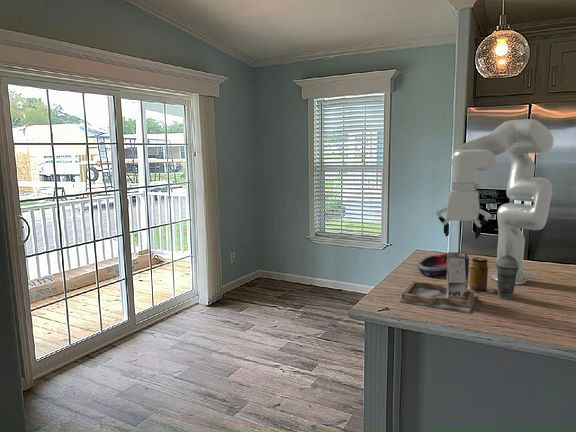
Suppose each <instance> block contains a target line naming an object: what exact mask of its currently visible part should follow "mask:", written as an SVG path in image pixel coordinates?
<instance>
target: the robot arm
mask: <svg viewBox="0 0 576 432" xmlns="http://www.w3.org/2000/svg"><path fill="white" fill-rule="evenodd" d="M553 146H554V136H553V134H552V132H551V130H549V129H548V128H547V127H546V126H545V124H543V123H542V122H541V121H538V120H537V119H534V118H530V119H529V118H528V119H526V118H525V119H524V118H523V119H510V120H506V121H504V122H502V123H501V124H500V125H499V126H497V127H495V128H494V130H493V131H491V132H490V133H489V134H485V135H482V136H480V137H477V138H475V139H472V140H469V141H467V142H465V143H462V144H461V145H460V146H459V147H458V148H456V150H455V151H454V152H453V153H452V155H451V158H450V164H451V166H452V171H451V172H452V178H451V190H450V191H449V194H448V197H447V205H446V207H444V208H442V209H440V210H437V211H436V212H435V214H436V216H437V218H438V220H439V221H440V222H441V223H442V225H443V234H444V235H445V237H448V236H449V235H450V224H449V222H450V221H459V222H460V221H461V222H473V223H474V224H475V226H476V227H475V233H474V235H475V236H474V238H475V240H476V239H478V238H479V237H481V233H482V232H481V231H482V227H483V226H484V225H485V224H486V223H487V222H488V221H489V219H490V217H491V214H490V213H489V212H487V211H485V210H483V209H481V208H480V195H479V191H476V190H478V189H481V187H482V186H481V184H479V183H477V172H487V171H488V172H489V171H490V170H492V169H493V168H494V166H495V165H496V156H499V155H502V154H504V153H505V152H506V153H507V155H508V158H509V160H510V170H509V174H508V175H509V176H508V179H507V180H508V181H507V185H506V192H505V193H506V197H507V198H508V199H509V200H513V201H518V202H520V201H521V202H530V203H531V202H532V203H533V204H524V203H517V202H516V203H515V202H507V203H503V204H501V205H500V206H499V207H498V209H497V211H496V217H497V226H498V227H497V228H498V236H497V237H498V238H497V252H496V254H497V255H496V262H497V261H498V259H499V258H500V257H502V256H504V255H505V243H507V255H510V256H513V257H514V258H515V259H516V260H517V262H518V267H519V268H518V271H517V274H516V280H515V286H516V285H517V286H518V285H524V284H526V283H527V280H528V279H529V280H536V274H532V273H530V272H528V273H527V272H525V271H524V256H525V255H524V253H525V243H526V239H525V236H524V233H523V232H522V230H521V229H523V230H530V231H539V230H543V229H544V227H545V226H546V223H547V220H548V216H549V211H550V206H551V201H552V196H553V185H552V184H553V183H552V182H551V181H550V179H548V178H545V177H534V175H535V170H536V165H535V162H534V160H533V159H532V157H531V156H530V155H529V154H544V153H548V152H549V151H550V150H551V149H552V148H553ZM444 213H446V215H445V216H446V219H445V217H444V216H443V215H442V214H444ZM480 214H481V215H482V216H483V217H484V218H483V219H482V220H481V221H480V219H479V218H480ZM496 267H497V266H496V265H495V268H496ZM495 270H496V271H495V273H493V274H492V275H491V280H493V281H495V282H497V283H498V279H497V268H496V269H495Z"/></svg>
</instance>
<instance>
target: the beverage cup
mask: <svg viewBox="0 0 576 432" xmlns="http://www.w3.org/2000/svg"><path fill="white" fill-rule="evenodd" d="M496 266H497V267H496ZM495 268H497V279H498V282H497V295H498V296H497V297H498V298H499V299H503V300H512V299H513V295H514V292H515V286H516V285H515V280H516V274H517V271H518V268H519V267H518V262H517V260H516V259H515V258H514V257H513V256H510V255H507V243H505V255H504V256H502V257H500V258H499V259H498V261H497V260H496V265H495Z"/></svg>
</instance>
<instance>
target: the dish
mask: <svg viewBox="0 0 576 432" xmlns="http://www.w3.org/2000/svg"><path fill="white" fill-rule="evenodd" d="M447 261H448V252H445V253H436V254H431V255H426V256H424V257H422V258H421V259H420V260H419V261H418V262H417V267H418V271H420V273H421V274H422V275H426V276H430V277H431V276H432V277H433V276H434V277H436V276H443V275H447Z"/></svg>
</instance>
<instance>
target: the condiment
mask: <svg viewBox="0 0 576 432" xmlns="http://www.w3.org/2000/svg"><path fill="white" fill-rule="evenodd" d="M471 260H472V262H471V265H470V273H469V274H470V276H469V286H467V290H473V291H474V292H476V293H478V294H482V295H484V294H489V293H495V290H494V289H491V288H488V274H489V273H488V272H489V267H488V259H487V258H485V257H473V258H472V259H471Z"/></svg>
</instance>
